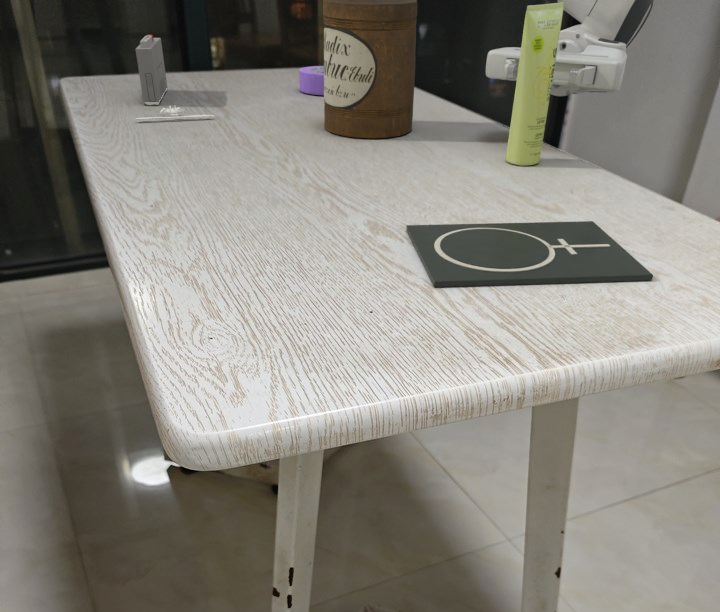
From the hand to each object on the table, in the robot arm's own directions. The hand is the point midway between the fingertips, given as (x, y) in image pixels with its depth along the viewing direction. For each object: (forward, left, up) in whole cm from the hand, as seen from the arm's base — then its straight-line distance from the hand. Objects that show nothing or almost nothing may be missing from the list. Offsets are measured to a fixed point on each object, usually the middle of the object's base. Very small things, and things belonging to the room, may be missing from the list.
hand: (540, 75), depth 99 cm
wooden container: (+22, -19, -11) cm, 31 cm away
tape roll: (+26, -53, -11) cm, 60 cm away
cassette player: (+60, -47, -11) cm, 77 cm away
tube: (+2, +3, -11) cm, 12 cm away
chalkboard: (+13, +39, -11) cm, 42 cm away
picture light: (+55, -28, -11) cm, 63 cm away
